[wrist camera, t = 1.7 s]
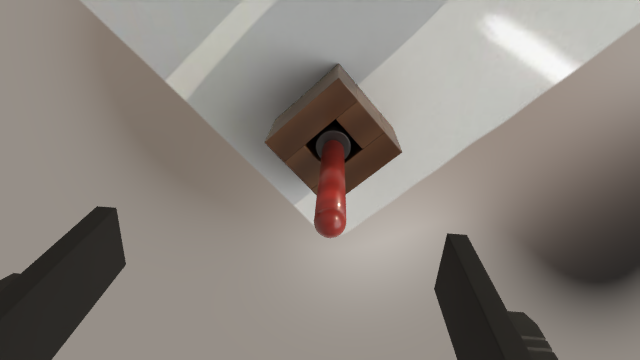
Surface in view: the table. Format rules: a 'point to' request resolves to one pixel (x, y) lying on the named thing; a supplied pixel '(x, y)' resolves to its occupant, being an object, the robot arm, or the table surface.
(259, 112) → the table surface
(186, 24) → the table surface
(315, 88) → the holder
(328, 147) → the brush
